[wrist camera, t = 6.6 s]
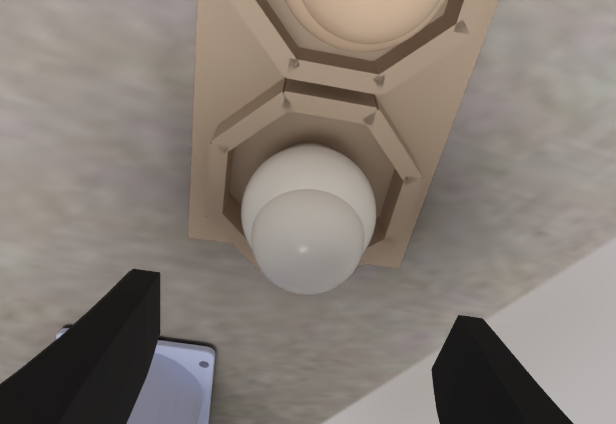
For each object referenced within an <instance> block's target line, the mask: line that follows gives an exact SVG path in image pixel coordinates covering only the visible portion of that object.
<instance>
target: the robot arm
mask: <svg viewBox="0 0 616 424" xmlns="http://www.w3.org/2000/svg"><path fill="white" fill-rule="evenodd" d="M159 336H160V272H153V271H146V270H139V269H132V270H131V271H129V272H128V273H127V274H126V275H125V276H124V277H123V278H122V279H121V280H120V281H119V282H118V283H117V284H116V285H115V286H114V287H113V288H112V289H111V290H110V291H109V292H108V293H107V294H106V295H105V296H104V297H103V298H102V299H101V300H100V301H99V302H98V303H97V304H95V305H94V306H93V307H92V308H91V309H90V310H89V311H88V312H87V313H86V314H85V315H84V316H82V317H81V318H80V319H79V320H78V321H77V322H76V323H75V324H74V325H72V326H71V327H70V328H63V329H61V330H60V331H59V332H58V334H57V335H56V340H55V341H54V342H53V343H52V344H50V345H49V346H48V347H47V348H45V349H44V350H43V351H42V352H41V353H39V354H38V355H37V356H36V357H34V358H33V359H32V360H31V361H30V362H28V363H27V364H26V365H25V366H23V367H22V368H21V369H20V370H18V371H17V372H16V373H14V374H13V375H12V376H10V377H9V378H8V379H6V380H5V381H4V382H2V383H1V384H0V424H209V414H210V404H211V394H212V384H213V374H214V363H215V351H214V350H213V349H212V348H210V347H207V346H200V345H192V344H185V343H177V342H169V341H162V340H158V339H159ZM432 378H433V387H434V395H435V402H436V409H437V413H438V418H439V422H440V424H573V423H572V421H571V420H570V419H569V418H568V417H567V416H566V415H565V414H564V413H563V412H562V411H561V410H560V408H558V406H557V405H556V404H555V403H554V402H553V401H552V400H551V398H550V397H549V396H548V395H547V394H546V393H545V392H544V390H543V389H542V388H541V387H540V386H539V385H538V384H537V382H536V381H535V380H534V379H533V378H532V376H531V375H530V374H529V373H528V372H527V371H526V369H525V368H524V367H523V366H522V365H521V363H520V362H519V361H518V360H517V359H516V357H515V356H514V355H513V354H512V353H511V351H510V350H509V349H508V348H507V347H506V346H505V344H504V343H503V342H502V341H501V339H500V338H499V337H498V336H497V335H496V334H495V332H494V331H493V330H492V329H491V328H490V326H489V325H488V324H487V323H486V322H485V321H484V320H483V319H482V318H476V317H469V316H462V315H458V317H457V319H456V321H455V323H454V325H453V327H452V329H451V331H450V333H449V335H448V337H447V339H446V341H445V343H444V345H443V347H442V349H441V351H440V353H439V355H438V357H437V359H436V361H435V363H434V365H433V367H432Z"/></svg>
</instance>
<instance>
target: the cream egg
mask: <svg viewBox="0 0 616 424" xmlns="http://www.w3.org/2000/svg"><path fill="white" fill-rule="evenodd" d="M241 219H242V227H243V230H244V234H245V237H246V239H247V241H248V244H249V246H250V247H251V249H252V251H253V254H254V257H255V260H256V262H257V264H258V266H259V268H260V269H261V271H262V272H263V274H264V275H265V276H266V277H267V278H268V279H269V280H270V281H271V282H272V283H274V284H275V285H276V286H278V287H280V288H281V289H284V290H286V291H288V292H292V293H295V294H300V295H315V294H320V293H324V292H327V291H330V290H332V289H334V288H336V287H338V286H339V285H340V284H342V283H343V282H344V281H346V280H347V279H348V278H349V277H350V275H351V274H352V273H353V272H354V270H355V269H356V267H357V265H358V263H359V261H360V259H361V256H362V254H363V252H364V251H365V250H366V248H367V246H368V245H369V243H370V240H371V238H372V235H373V233H374V228H375V224H376V201H375V197H374V193H373V190H372V188H371V185H370V183H369V181H368V179H367V178H366V176H365V175H364V173H363V172H362V171H361V169H360V168H359V167H358V166H357V165H356V164H355V163H354V162H353V161H352V160H350V159H349V158H347V157H346V156H344V155H343V154H341V153H339V152H337V151H336V150H335V149H333V148H332V147H330V146H328V145H327V144H324V143H321V142H316V141H304V142H299V143H296V144H294V145H291V146H290V147H288V148H287V149H285V150H283V151H280V152H278V153H277V154H275V155H273V156H271V157H270V158H269V159H267V160H266V161H265V162H264V163H263V164H262V165H261V166H260V167H259V168H258V169H257V170H256V171H255V173H254V174H253V175H252V177H251V179H250V180H249V182H248V184H247V187H246V189H245V192H244V195H243V200H242V206H241Z"/></svg>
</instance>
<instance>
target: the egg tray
mask: <svg viewBox="0 0 616 424" xmlns="http://www.w3.org/2000/svg"><path fill="white" fill-rule="evenodd" d="M498 2H499V0H446V1H445V3H444V4H443V6H442V7H441V9H440V10H439V11H438V13H437V14H436V15H435V16H434V18H433V19H432V20H431V21H430V22H429V23H428V24H427V25H426V26H425V27H424V28H423V29H422V30H420V31H419V32H418V33H416V34H415V35H414V36H412V37H411V38H409V39H407V40H406V41H404V42H402V43H400V44H398V45H395V46H393V47H391V48H387V49H384V50H380V51H373V52H352V51H346V50H342V49H338V48H335V47H333V46H331V45H328V44H326V43H324V42H322V41H321V40H319V39H317V38H316V37H314V36H313V35H312V34H311V33H309V32H308V31H307V30H306V29H305V28H304V27H303V26H302V25H301V24H300V23H299V22H298V20H297V19H296V18H295V17H294V15H293V14H292V12H291V11H290V9H289V7H288V5H287V4H286V2H285V0H198V4H197V28H196V53H195V78H194V103H193V128H192V153H191V178H190V203H189V228H188V237H190V238H197V239H204V240H210V241H217V242H224V243H230V244H232V245H233V246H234V247H235V248H236V249H237V250H238V251H239V252H240V253H241V254H242V255H243V256H244V257H245V258H246V259H247V260H248V261H249V262H250V263H251V264H252V265H253V266H254V267H255V268H256V269H257V268H258V270H261V269H260V268H259V266H258V264H257V262H256V260H255V257H254V254H253V251H252V249H251V247H250V246H249V244H248V241H247V239H246V237H245V234H244V230H243V227H242V219H241V206H242V200H243V195H244V192H245V189H246V187H247V184H248V182H249V180H250V179H251V177H252V175H253V174H254V173H255V171H256V170H257V169H258V168H259V167H260V166H261V165H262V164H263V163H264V162H265V161H266V160H267V159H269V158H270V157H271V156H273V155H275V154H277V153H278V152H280V151H283V150H285V149H287V148H288V147H290V146H291V145H294V144H296V143H299V142H304V141H316V142H321V143H324V144H327V145H328V146H330V147H332V148H333V149H335V150H336V151H337V152H339V153H341V154H343V155H344V156H346V157H347V158H349V159H350V160H352V161H353V162H354V163H355V164H356V165H357V166H358V167H359V168H360V169H361V171H362V172H363V173H364V175H365V176H366V178H367V179H368V181H369V183H370V185H371V188H372V190H373V193H374V197H375V201H376V224H375V228H374V233H373V235H372V238H371V240H370V243H369V245H368V246H367V248H366V250H365V251H364V252H363V254H362V256H361V259H360V261H359V263H358V265H357V267H359V266H361V265H363V264H370V265H376V266H383V267H390V268H396V269H399V267H400V265H401V262H402V259H403V257H404V254H405V251H406V249H407V246H408V243H409V240H410V238H411V235H412V232H413V230H414V227H415V224H416V222H417V219H418V216H419V214H420V211H421V208H422V206H423V203H424V200H425V197H426V195H427V192H428V189H429V187H430V184H431V181H432V179H433V176H434V173H435V171H436V168H437V165H438V163H439V160H440V157H441V155H442V152H443V149H444V146H445V144H446V141H447V138H448V136H449V133H450V130H451V128H452V125H453V122H454V120H455V117H456V114H457V112H458V109H459V106H460V104H461V101H462V98H463V95H464V93H465V90H466V87H467V85H468V82H469V79H470V77H471V74H472V71H473V69H474V66H475V63H476V61H477V58H478V55H479V53H480V50H481V47H482V44H483V42H484V39H485V36H486V34H487V31H488V28H489V26H490V23H491V20H492V18H493V15H494V12H495V10H496V7H497V4H498ZM357 267H356V268H357Z"/></svg>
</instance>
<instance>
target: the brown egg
mask: <svg viewBox="0 0 616 424" xmlns="http://www.w3.org/2000/svg"><path fill="white" fill-rule="evenodd" d="M445 1H446V0H285V2H286V4H287V5H288V7H289V9H290V11H291V12H292V14H293V15H294V17H295V18H296V19H297V20H298V22H299V23H300V24H301V25H302V26H303V27H304V28H305V29H306V30H307V31H308V32H309V33H311V34H312V35H313V36H314V37H316V38H317V39H319V40H321V41H322V42H324V43H326V44H328V45H331V46H333V47H335V48H338V49H342V50H346V51H352V52H373V51H380V50H384V49H387V48H391V47H393V46H395V45H398V44H400V43H402V42H404V41H406V40H407V39H409V38H411V37H412V36H414V35H415V34H416V33H418V32H419V31H420V30H422V29H423V28H424V27H425V26H426V25H427V24H428V23H429V22H430V21H431V20H432V19H433V18H434V16H435V15H436V14H437V13H438V11H439V10H440V9H441V7H442V6H443V4H444V3H445Z"/></svg>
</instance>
